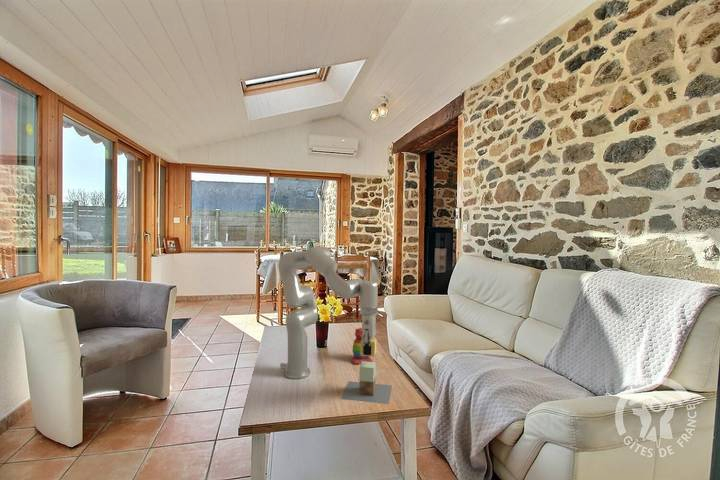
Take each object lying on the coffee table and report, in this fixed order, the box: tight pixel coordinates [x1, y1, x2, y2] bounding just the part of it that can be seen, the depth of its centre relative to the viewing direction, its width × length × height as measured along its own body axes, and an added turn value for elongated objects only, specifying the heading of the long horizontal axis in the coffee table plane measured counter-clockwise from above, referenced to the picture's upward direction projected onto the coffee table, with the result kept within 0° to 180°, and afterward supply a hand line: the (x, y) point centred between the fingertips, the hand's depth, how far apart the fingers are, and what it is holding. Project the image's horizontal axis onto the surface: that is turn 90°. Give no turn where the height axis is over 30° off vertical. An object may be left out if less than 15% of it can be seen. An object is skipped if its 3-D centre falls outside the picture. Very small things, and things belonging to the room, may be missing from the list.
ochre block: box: [360, 337, 377, 357], centre depth 144 cm, size 6×6×6 cm
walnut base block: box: [359, 377, 376, 396], centre depth 145 cm, size 6×6×6 cm
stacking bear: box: [351, 327, 373, 366], centre depth 182 cm, size 11×10×18 cm
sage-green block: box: [358, 361, 376, 382], centre depth 145 cm, size 6×6×6 cm
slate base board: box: [340, 380, 393, 405], centre depth 145 cm, size 20×16×2 cm
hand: (368, 351), depth 144 cm, fingers closed on ochre block, 6 cm apart
